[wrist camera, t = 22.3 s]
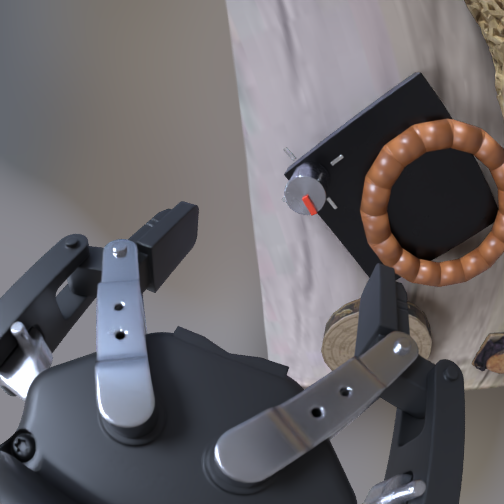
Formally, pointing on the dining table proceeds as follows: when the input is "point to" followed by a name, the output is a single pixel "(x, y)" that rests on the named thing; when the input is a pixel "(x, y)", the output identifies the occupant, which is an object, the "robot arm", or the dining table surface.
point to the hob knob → (307, 188)
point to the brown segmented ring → (387, 172)
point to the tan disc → (345, 332)
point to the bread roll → (491, 354)
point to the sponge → (492, 36)
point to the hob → (402, 179)
